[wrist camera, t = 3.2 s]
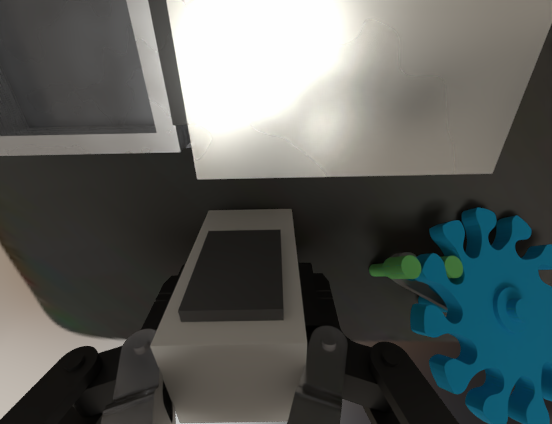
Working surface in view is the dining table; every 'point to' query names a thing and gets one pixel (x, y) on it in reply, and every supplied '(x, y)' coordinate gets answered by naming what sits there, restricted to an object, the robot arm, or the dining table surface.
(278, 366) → the block
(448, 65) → the base with upright block
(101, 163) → the dining table surface
